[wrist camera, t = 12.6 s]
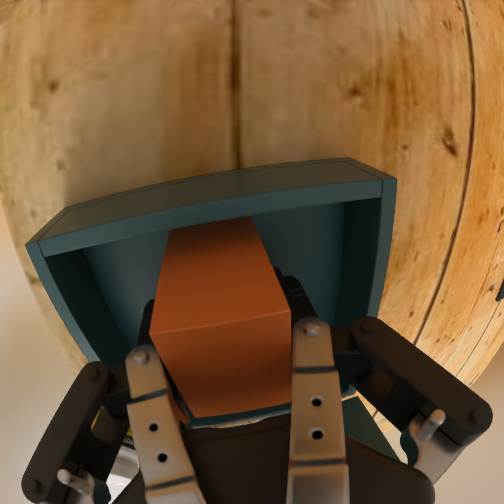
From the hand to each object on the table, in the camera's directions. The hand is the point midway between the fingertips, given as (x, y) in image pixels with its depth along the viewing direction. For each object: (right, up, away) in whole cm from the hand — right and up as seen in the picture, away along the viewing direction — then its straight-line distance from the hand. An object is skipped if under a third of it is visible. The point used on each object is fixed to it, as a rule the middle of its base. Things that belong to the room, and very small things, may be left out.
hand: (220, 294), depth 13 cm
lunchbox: (0, -1, +4) cm, 4 cm away
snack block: (0, +1, +2) cm, 2 cm away
